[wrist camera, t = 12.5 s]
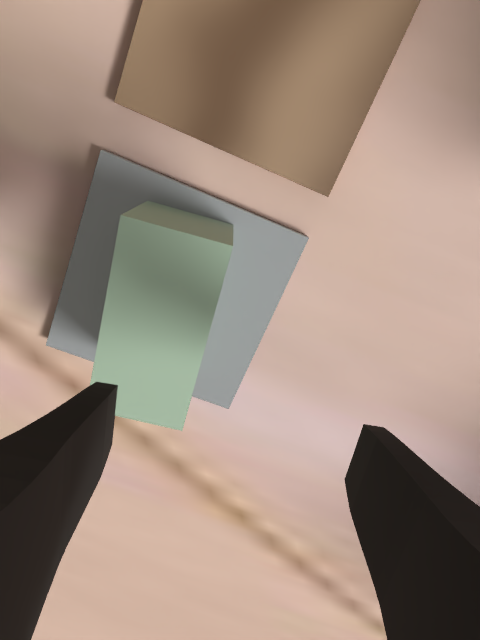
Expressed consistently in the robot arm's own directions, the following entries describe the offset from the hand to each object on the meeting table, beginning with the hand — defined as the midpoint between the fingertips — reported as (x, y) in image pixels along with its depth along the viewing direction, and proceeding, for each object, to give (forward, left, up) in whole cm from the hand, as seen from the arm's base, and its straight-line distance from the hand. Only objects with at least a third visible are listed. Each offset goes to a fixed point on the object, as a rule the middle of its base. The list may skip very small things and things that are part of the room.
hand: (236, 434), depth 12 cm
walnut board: (+3, -12, -10) cm, 16 cm away
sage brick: (+3, 0, -10) cm, 10 cm away
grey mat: (+3, 0, -10) cm, 11 cm away
